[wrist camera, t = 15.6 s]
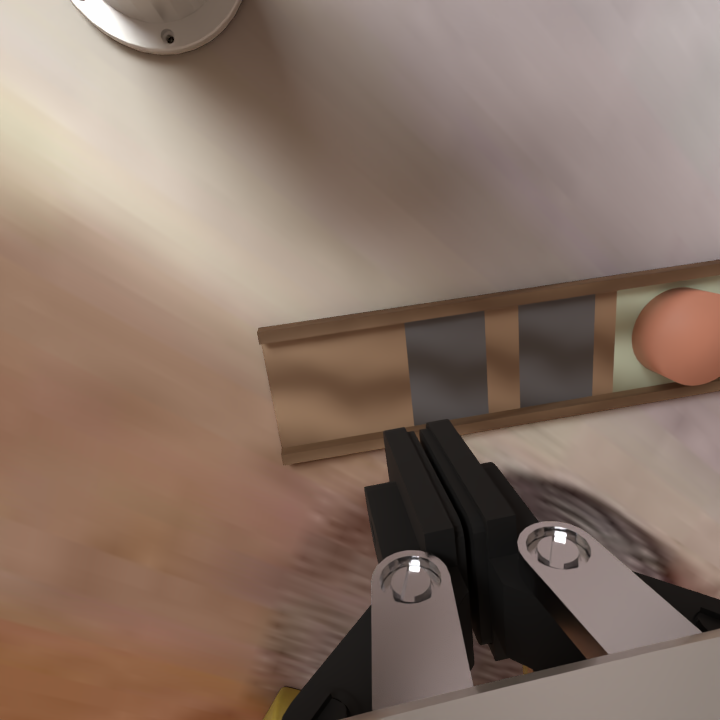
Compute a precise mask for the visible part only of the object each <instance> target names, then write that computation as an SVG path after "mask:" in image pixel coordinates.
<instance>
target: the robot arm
mask: <svg viewBox="0 0 720 720" xmlns="http://www.w3.org/2000/svg"><path fill="white" fill-rule="evenodd" d="M70 1H71V2H72V3H73V5H74V6H75V7H76V8H77V9H78V10H79V11H80V12H81V13H82V14H83V15H84V16H85V17H86V18H87V19H88V20H89V21H90V22H91V23H92V24H93V25H94V26H96V27H97V28H98V29H99V30H100V31H102V32H103V33H104V34H105V35H107V36H109V37H111V38H112V39H114V40H116V41H117V42H119V43H121V44H122V45H125V46H127V47H130V48H133V49H136V50H138V51H141V52H146V53H153V54H159V55H166V54H180V53H184V52H187V51H191V50H195V49H197V48H199V47H201V46H203V45H204V44H206V43H208V42H210V41H212V40H213V39H214V38H215V37H216V36H217V35H218V34H220V33H221V32H222V31H223V30H224V29H225V28H226V27H227V25H228V24H229V23H230V21H231V20H232V19H233V17H234V16H235V15H236V13H237V11H238V8H239V6H240V4H241V2H242V0H86V1H84V2H83V0H70ZM169 37H173V38H174V42H173V43H171V44H169V43H168V38H169ZM419 437H420V442H419V440H418V438H417V436H416V434H415V432H414V431H410V432H407V431H406V429H405V427H401V428H396V429H390V430H385V431H383V438H384V445H385V452H386V460H387V467H388V474H389V481H390V482H387V483H382V484H377V485H372V486H367V487H364V489H365V497H366V503H367V509H368V515H369V521H370V527H371V532H372V537H373V542H374V546H375V551H376V555H377V559H378V566H377V567H376V569H375V570H374V572H373V575H372V581H371V606H370V607H369V608H368V609H367V610H366V612H365V613H364V614H363V615H362V617H361V618H360V619H359V620H358V621H357V623H356V624H355V625H354V626H353V628H352V629H351V630H350V631H349V632H348V634H347V635H346V636H345V637H344V639H343V640H342V641H341V642H340V643H339V645H338V646H337V647H336V648H335V650H334V651H333V652H332V653H331V654H330V656H329V657H328V658H327V659H326V661H325V662H324V663H323V664H322V665H321V667H320V668H319V669H318V670H317V672H316V673H315V674H314V675H313V676H312V678H311V679H310V680H309V681H308V683H307V684H306V685H305V686H304V687H303V689H302V690H301V691H300V692H299V694H298V695H297V696H296V697H295V698H294V700H293V701H292V702H291V704H290V705H289V707H288V708H287V710H286V712H285V713H284V715H283V717H282V720H720V600H719V599H716V598H713V597H710V596H707V595H704V594H701V593H698V592H694V591H691V590H688V589H685V588H682V587H679V586H676V585H673V584H670V583H667V582H664V581H661V580H658V579H655V578H652V577H648V576H645V575H642V574H639V573H636V572H633V571H631V570H630V569H629V568H628V567H626V566H625V565H624V564H623V563H622V562H621V561H619V560H618V559H617V558H616V557H615V556H614V555H613V554H611V553H610V552H609V551H608V550H607V549H606V548H605V547H603V546H602V545H601V544H600V543H599V542H598V541H596V540H595V539H594V538H593V537H592V536H591V535H589V534H588V533H586V532H585V531H583V530H582V529H580V528H578V527H575V526H573V525H571V524H567V523H562V522H557V521H544V522H538V520H537V519H536V518H535V516H534V515H533V514H532V512H531V511H530V510H529V508H528V507H527V506H526V504H525V503H524V502H523V501H522V499H521V498H520V497H519V495H518V494H517V493H516V491H515V490H514V489H513V487H512V486H511V485H510V483H509V482H508V481H507V479H506V478H505V477H504V476H503V474H502V473H501V472H500V470H499V469H498V468H497V466H496V465H495V464H494V463H492V462H488V463H483V464H480V463H479V462H478V460H477V459H476V457H475V456H474V455H473V453H472V452H471V450H470V449H469V447H468V446H467V445H466V443H465V442H464V440H463V439H462V437H461V436H460V435H459V433H458V432H457V430H456V429H455V428H454V426H453V425H452V423H451V422H450V420H449V419H443V420H438V421H432V422H427V423H426V429H420V430H419ZM472 629H473V631H474V634H475V636H476V638H477V641H478V643H479V644H480V645H484V644H488V645H489V647H490V650H491V652H492V654H493V656H494V659H495V661H498V660H503V659H507V658H510V659H512V660H514V661H516V662H519V663H521V664H522V668H523V674H524V675H520V676H515V677H511V678H507V679H503V680H499V681H494V682H490V683H486V684H482V685H478V686H474V687H473V683H472V678H471V673H470V671H471V669H472V667H473V666H474V653H473V636H472Z"/></svg>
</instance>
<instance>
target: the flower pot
mask: <svg viewBox="0 0 720 720" xmlns="http://www.w3.org/2000/svg"><path fill="white" fill-rule="evenodd" d="M299 692H300V690H296V689H292V688H289V687H283V688H281V689H280V691H279V693H278V694H277V696H276V698H275V700H274V702H273V703H272V705H271V707H270V709H269V710H268V712H267V714H266V715H265V717H264V719H263V720H282V717H283V715H284V713H285V712H286V710H287V708H288V707H289V705H290V704H291V702H292V701H293V700H294V698H295V697H296V696H297V695H298V694H299Z"/></svg>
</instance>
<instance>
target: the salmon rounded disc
mask: <svg viewBox="0 0 720 720" xmlns="http://www.w3.org/2000/svg"><path fill="white" fill-rule="evenodd" d="M632 348H633V351H634V354H635V356H636V358H637V360H638V361H639V362H640V363H641V364H642V365H643V366H644V367H645V368H647V369H649V370H651V371H653V372H655V373H658V374H660V375H662V376H664V377H666V378H668V379H671V380H673V381H675V382H677V383H680V384H683V385H689V386H695V385H701V384H705V383H708V382H711V381H713V380H715V379H717V378H718V377H720V294H717V293H712V292H708V291H703V290H698V289H693V288H688V287H678V288H673V289H669V290H667V291H664V292H662V293H660V294H659V295H657V296H656V297H654V298H653V299H652V300H651V301H650V302H649V303H648V304H647V305H646V306H645V307H644V308H643V310H642V311H641V313H640V314H639V316H638V318H637V320H636V322H635V325H634V328H633V332H632Z"/></svg>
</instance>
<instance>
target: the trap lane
mask: <svg viewBox="0 0 720 720" xmlns="http://www.w3.org/2000/svg"><path fill="white" fill-rule="evenodd" d="M678 287H688V288H693V289H698V290H703V291H708V292H712V293H717V294H720V260H714V261H707V262H701V263H694V264H687V265H680V266H674V267H667V268H660V269H653V270H647V271H640V272H633V273H626V274H620V275H613V276H606V277H599V278H593V279H586V280H579V281H572V282H566V283H559V284H552V285H545V286H539V287H532V288H525V289H518V290H512V291H505V292H498V293H491V294H485V295H478V296H471V297H465V298H458V299H451V300H444V301H438V302H431V303H424V304H417V305H411V306H404V307H397V308H390V309H384V310H377V311H370V312H363V313H357V314H350V315H343V316H336V317H330V318H323V319H316V320H309V321H303V322H296V323H289V324H282V325H276V326H269V327H262V328H258V331H257V335H258V340H259V345H260V344H262V349H263V355H264V360H265V365H266V370H267V375H268V380H269V385H270V390H271V395H272V400H273V405H274V411H275V416H276V421H277V426H278V431H279V436H280V441H281V446H282V453H281V456H282V461H283V465H289V464H295V463H301V462H307V461H313V460H318V459H324V458H330V457H336V456H342V455H348V454H353V453H359V452H365V451H371V450H377V449H383V448H385V445H384V438H383V431H385V430H390V429H396V428H401V427H405V429H406V431H407V432H410V431H414V432H415V434H416V436H417V438H418V440H419V442H420V437H419V430H420V429H426V423H427V422H432V421H438V420H443V419H449V420H450V422H451V423H452V425H453V426H454V428H455V429H456V430H457V432H458V433H459V435H464V434H470V433H476V432H482V431H488V430H494V429H500V428H505V427H511V426H517V425H523V424H529V423H535V422H540V421H546V420H552V419H558V418H564V417H570V416H575V415H581V414H587V413H593V412H599V411H605V410H611V409H616V408H622V407H628V406H634V405H640V404H646V403H651V402H657V401H663V400H669V399H675V398H681V397H687V396H692V395H698V394H704V393H710V392H716V391H720V377H718V378H717V379H715V380H713V381H711V382H708V383H705V384H701V385H695V386H689V385H683V384H680V383H677V382H675V381H673V380H671V379H668V378H666V377H664V376H662V375H660V374H658V373H655V372H653V371H651V370H649V369H647V368H645V367H644V366H643V365H642V364H641V363H640V362H639V361H638V360H637V358H636V356H635V354H634V351H633V348H632V332H633V328H634V325H635V322H636V320H637V318H638V316H639V314H640V313H641V311H642V310H643V308H644V307H645V306H646V305H647V304H648V303H649V302H650V301H651V300H652V299H653V298H654V297H656V296H657V295H659V294H660V293H662V292H664V291H667V290H669V289H673V288H678Z"/></svg>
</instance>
